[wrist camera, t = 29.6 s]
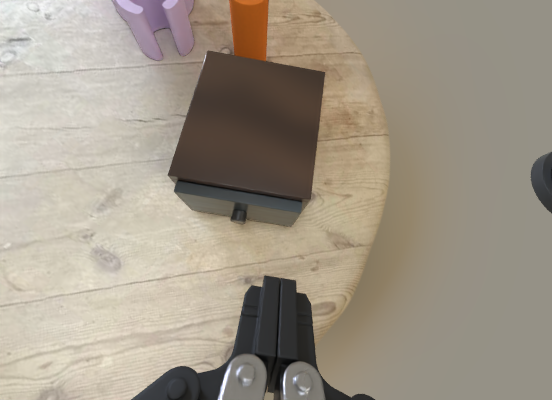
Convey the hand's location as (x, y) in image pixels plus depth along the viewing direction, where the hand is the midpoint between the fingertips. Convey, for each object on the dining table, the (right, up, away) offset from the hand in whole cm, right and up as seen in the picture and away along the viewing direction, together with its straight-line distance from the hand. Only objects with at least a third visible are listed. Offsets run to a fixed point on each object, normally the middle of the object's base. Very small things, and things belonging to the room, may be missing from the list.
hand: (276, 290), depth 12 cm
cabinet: (-3, +10, +22) cm, 24 cm away
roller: (-4, +26, +27) cm, 38 cm away
